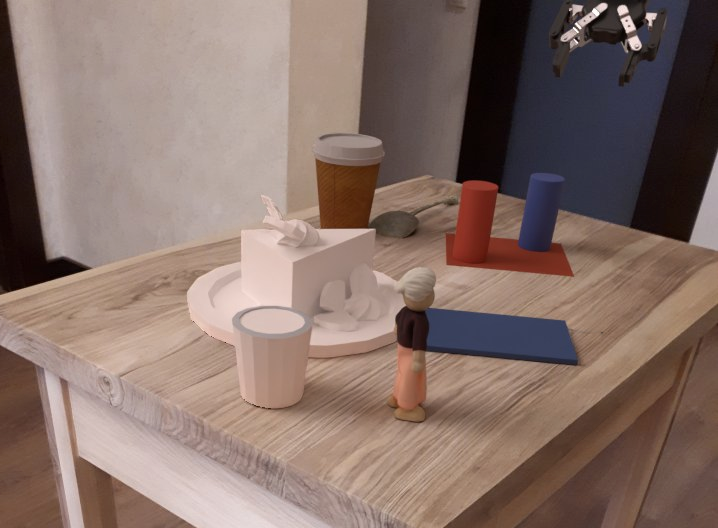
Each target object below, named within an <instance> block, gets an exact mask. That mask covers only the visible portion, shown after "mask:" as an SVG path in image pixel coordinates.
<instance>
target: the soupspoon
mask: <svg viewBox="0 0 718 528" xmlns="http://www.w3.org/2000/svg"><path fill="white" fill-rule="evenodd" d="M458 204H459V198H458V196H457V195H450V196H449V197H445V198H443V199H441V200H437V201H434V202H431V203H428V204H426V205H423V206H421V207H418V208H416V209H414V210H412V211H410V212H408V211H404V210H389V211H387V212H383V213H381V214H379V215H377V216H375V217H374V218H373V219H372V221H371V222H370V223H369V225H368V228H369V229H376V232H375V235H379V236H382V237H387V238H394V239H405V238H407V237H408V236H410V235H411V234H412V233H413V232H415V230H416V229H417V228H418V227H419V224H420V219H419V218H418V217H417V216H416V215H419V214H420V213H422V212H424V211H426V210H428V209H431V208H434V207H436V206H439V205H445V206H446V205H458Z"/></svg>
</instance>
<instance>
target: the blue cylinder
mask: <svg viewBox="0 0 718 528" xmlns="http://www.w3.org/2000/svg"><path fill="white" fill-rule="evenodd" d="M565 181H566V178H565V177H563V176H562V175H559V174H555V173H550V172H535V173H531V174H530V177H529V182H528V188H527V192H526V198H525V203H524V208H523V214H522V219H521V220H522V221H521V224H520V229H519V235H518V246H519V247H520V248H522V249H525V250H529V251H535V252H544V251H548V250H550V248H551V243H553V238H554V232H555V228H556V224H557V219H558V215H559V210H560V207H561V206H560V205H561V200H562V196H563V191H564V187H565V186H564V185H565V183H566V182H565Z"/></svg>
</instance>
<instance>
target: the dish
mask: <svg viewBox="0 0 718 528" xmlns="http://www.w3.org/2000/svg"><path fill="white" fill-rule="evenodd" d="M260 199H261V200H262V202H263V204H264V206H265V208H266V209H267V212H268V213H269V215H265V217H264V219H263V220H262V224H264V225H266V226H268V227H269V228H270V229H269V228H267V229H266V228H265V229H264V228H263V229H258V228H257V229H249V228H248V229H240V254H241V255H240V260H241V261H237V262H233V263H229V264H226V265H220V266H218V267H216V268H214V269H212V270H210V271H207V272H206V273H204V274H202V275H200V276H199V277H197V278H196V279H195V281H194V282H193V283H192V285H191V286H190V287H189V288H188V290H187V291H186V301H187V302H186V303H188V304H187V309H188V308H189V309H188V314H189V313H190V314H189V317H190V318H191V319H190V321H191V320H192V321H191V322H193V321H194V322H195V323H196V324H197V325H198V326H199V327H200V328H199V327H198V326H197V325H196V324H195V323H194V322H193V323H194V324H195V325H196V326H197V327H198V328H199V329H201V331H203V332H204V331H205V332H206V333H207V334H208V335H207V334H206V333H205V332H204V333H205V334H206V335H207V336H208V337H211V336H212V337H211V338H213V337H214V338H213V339H216V340H217V341H220V342H223V343H225V342H226V344H228V345H231V346H232V347H235V341H234V333H233V324H232V318H233V317H234V316H235V314H236V313H238V312H240V311H242V310H244V309H247V308H252V307H257V306H281V307H288V308H293V309H295V310H298V311H301V312H303V313H305V314H306V315H307V316H309V317H310V318H311V321H312V324H313V325H312V333H311V340H310V347H309V354H308V358H312V359H315V358H316V359H329V358H330V359H331V358H336V357H345V356H350V355H357V354H365V353H369V352H372V351H374V350H377V349H380V348H383V347H386V346H388V345H391V344H393V343H396V342H397V336H396V335H395V334H394V327H395V317H396V314H397V313H398V312H399V311H400V310H401V309H402V308H403V307H405V306H406V305H405V303H404V299H403V294H402V293H399V294H398V293H396V291H395V289H394V288H395V286H396V284H397V283H398V281H397V280H395V279H394V278H392V277H390V276H389V275H387V274H384V273H383V272H381V271H378V270H375V269H373V267H374V258H375V257H374V255H375V244H376V233H375V232H376V229H370V228H368V229H321V228H315V227H314V226H313V225H311V224H310V223H309V222H306V221H304V220H302V219H300V218H299V219H294V218H292V219H289V220H283V219H284V218H283V215H282V214H281V211H280V210H279V208H278V206H277V204H276V203H275V202H274V200H273V199H272V198H270V197H269V196H267V195H265V194H261V195H260Z"/></svg>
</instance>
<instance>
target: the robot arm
mask: <svg viewBox="0 0 718 528" xmlns="http://www.w3.org/2000/svg"><path fill="white" fill-rule="evenodd" d="M649 4H650V0H587V1H586V3H584V4H583V5H581V4H576V3H574V0H563V2H562V4H561V6H560V8H559V10H558V12H557V15H556V17H555V18H554V21H553V23H552V25H551V27H550V29H549V32H548V35H549V36H548V37H549V48H550V49H551V50H556V52H555V54H554V56H553V59H552V73H553V74H554V78H558V79H561V78H562V76H563V73H564V71H565V68H566V66H567V63H568V61H569V58H570V53H572V52H573V51H574V50H576V49H578V48H583V47H585V45H587V44H588V43H590V42H591V41H592V43H597V44H600V43H606V44H608V45H613V46H617V44H619V43H621V46H622V48H623V50H624V52H625V54H626V57H625V59H624V62H623V64H622V67H621V70H620V72H619V75H618V84H617V85H618V87H622V88H624V87H625V85H626V84H629V83H631V81H632V80H633V78H634V75H635V73H636V71H637V67H638V65H639V63H640V62H642V61H647V62H650V63H651V62H654V61H656V59H657V55H658V52H659V49H660V46H661V43H662V39H663V36H664V33H665V30H666V26H667V18H668V9H667V8H665V7H661V8H659V9H658V10H657V12H647V8H648V5H649ZM578 18H581V19H579V20H578V21H576V19H578ZM574 22H575V23H574ZM573 23H574V25H573ZM569 25H573V27H572V28H570V29H569V30H568V27H569ZM644 25H647V30H648V31H649V33H650V34H649V38H648V42H647V43H642V42H641V40H640V38H639V36H638V30H640V29H641V28H642V27H644ZM567 30H568V31H567Z"/></svg>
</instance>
